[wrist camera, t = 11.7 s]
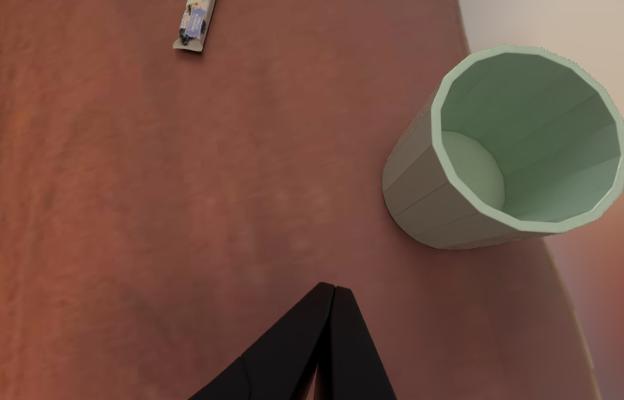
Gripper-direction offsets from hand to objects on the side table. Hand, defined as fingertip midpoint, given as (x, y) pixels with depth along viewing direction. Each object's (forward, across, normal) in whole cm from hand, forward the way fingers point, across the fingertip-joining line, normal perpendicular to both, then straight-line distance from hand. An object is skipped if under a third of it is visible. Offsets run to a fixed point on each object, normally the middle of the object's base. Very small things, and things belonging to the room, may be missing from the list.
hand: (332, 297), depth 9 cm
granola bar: (+20, +16, -6) cm, 26 cm away
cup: (+16, -6, +2) cm, 17 cm away
